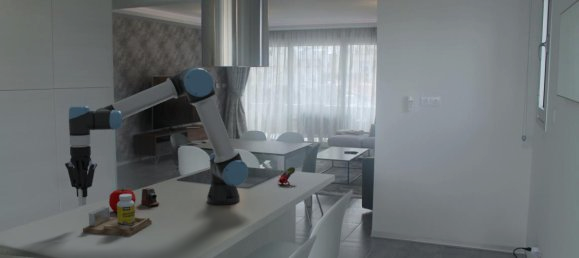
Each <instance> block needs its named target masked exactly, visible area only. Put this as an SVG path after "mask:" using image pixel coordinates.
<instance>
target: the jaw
mask: <svg viewBox="0 0 579 258" xmlns="http://www.w3.org/2000/svg"><path fill="white" fill-rule="evenodd" d="M110 214H111V213H110V206H103V207H101V208H98V209H96V210H94V211H91V212H89V213H88V224H89V225H88V226H94V227H95V226H97V225H99V224H101V223H103V222H105V221H107V220H110V217H111V216H110Z"/></svg>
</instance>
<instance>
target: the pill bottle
mask: <svg viewBox="0 0 579 258" xmlns="http://www.w3.org/2000/svg"><path fill="white" fill-rule="evenodd" d="M119 199H120V201H119V202H118V203H117V212H116V214H117V215H116V218H117V219H118V225H119V226H131V225H134V224H135V217H136V208H135V206H136V202H135V203H134V201H132V200H131V199H132V195H131V194H122V195H119Z"/></svg>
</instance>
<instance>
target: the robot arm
mask: <svg viewBox="0 0 579 258" xmlns="http://www.w3.org/2000/svg"><path fill="white" fill-rule="evenodd" d="M216 94H217V93H216V91H215V89H214V78H213V76H212V75H211V73H210V72H209V71H208V70H206V69H204V68H202V67H193V68H192V67H190V68H188V67H187V68H185V69H183V70H181V71H180V72H178V73H175V74H174V75H172V76H170V77H167V78H166V81H164V82H162V83H159V84H157V85H155V86H152V87H150V88H147V89H144V90H142V91H140V92H137V93H134V94H133V95H130V96H128V97H125V98H123V99H121V100H119V101H118V100H117V102H114V103H112V104H109V105H107V106H104V107H100V108H98V109H96V110H91V109H90V107H89V106H88V105H73V106H70V107H69V108H68V130H69V131H68V132H69V135H68V136H69V145H70V146H69V155H70V161H68V162H65V163H64V166H65V167H66V169H67V173H68V177H69V181H70V185H71V188H75V190H76V197H77V198H78V200H77V201H78V202H77V203H78V207H79V206H80V207H83V206H85V205H87V197H88V188H91V187H93V181H94V176H95V171H96V168H97V166H98V164H97V163H94V162H93V161H92V158H91V155H92V148H91V147H92V146H90V145H91V131H97V130H98V131H101V130H103V131H105V130H109V131H110V130H119V129H121V128H122V126H123V120H124V119H126V118H128V117H130V116H133V115H135V114H138V113H140V112H143V111H144V110H147V109H149V108H152V107H154V106H157V105H158V104H160V103H164V102H166V101H168V100H171V99H173V98H174V99H178V98H181V97H184V96H186V97H187V100H188V102H189V104H190V105H192V106H194V107H195V109H196V111H197V114H198V117H199V119H200V121H201V124H202V127H203V129H204V131H205V134H206V137H207V139H208V142H209V144H210V146H211V149H212V151H213V153H211V154H210V156H209V169H210V170H209V171H210V172H209V173H210V174H209V175H210V186H209V189H208V191H207V192H208V193H207V195H206V196H207V197H206V202H207V203H208V204H212V205H230V204H236V203H238V202H240V199H241V198H240V193H239V189H238V186H241V185H243V184H244V183H245V182H246V180H247V179H248V176H249V173H250V171H249V167H248V165H247V163H245V161H243V159H242V157H241V153H240V152H239V150H238V149H236V148H234V145H233V142H232V140H231V139H230V135H229V133H228V131H227V128H226V125H225V123H224V121H223V119H222V115H221V114H220V110H219V108H218V106H217V103H216V101H215V97H216Z"/></svg>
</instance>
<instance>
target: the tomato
mask: <svg viewBox="0 0 579 258" xmlns="http://www.w3.org/2000/svg"><path fill="white" fill-rule="evenodd" d="M122 194H131V195H132V199H131V200H132V201H134V203H135V204H136V199H137V198H136V194H135V193H134V191H133V190H131V189H127V188H126V189H124V188H122V189H116V190H113V191H112V192H111V193H110V194H109V200H108V205H109V208H110V209H111V210H112V211H113V212H116V213H117V203H118V202H119V201H120V199H119V195H122Z"/></svg>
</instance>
